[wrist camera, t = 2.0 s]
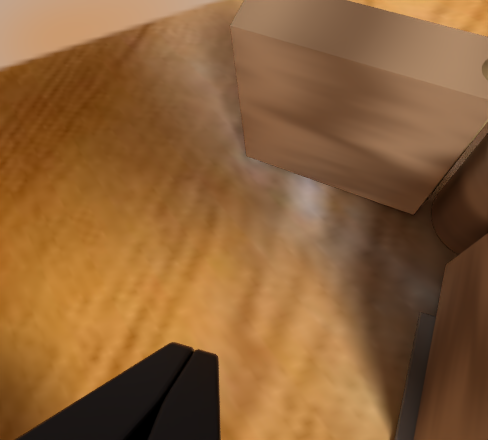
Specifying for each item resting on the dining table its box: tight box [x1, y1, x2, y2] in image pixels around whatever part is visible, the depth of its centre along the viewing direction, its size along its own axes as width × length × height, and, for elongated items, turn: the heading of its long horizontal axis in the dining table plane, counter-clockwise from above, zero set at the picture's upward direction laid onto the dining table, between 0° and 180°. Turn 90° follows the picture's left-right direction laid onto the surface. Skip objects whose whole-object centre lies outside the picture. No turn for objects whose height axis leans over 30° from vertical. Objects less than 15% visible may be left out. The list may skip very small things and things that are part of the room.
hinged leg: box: [230, 0, 488, 215], centre depth 19 cm, size 9×2×9 cm, turn 66°
